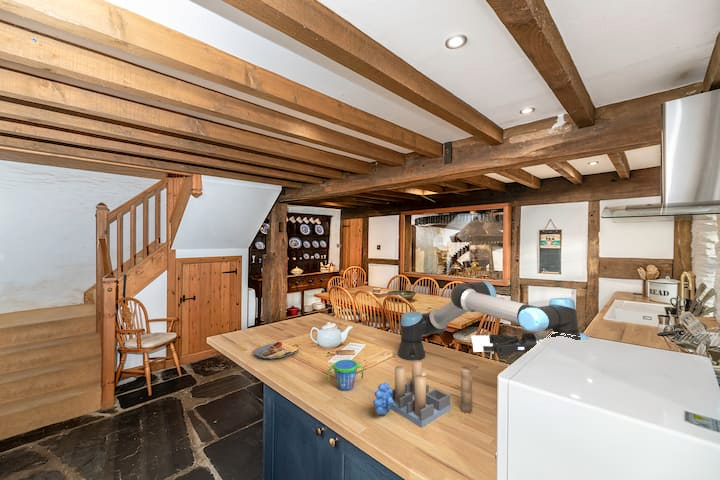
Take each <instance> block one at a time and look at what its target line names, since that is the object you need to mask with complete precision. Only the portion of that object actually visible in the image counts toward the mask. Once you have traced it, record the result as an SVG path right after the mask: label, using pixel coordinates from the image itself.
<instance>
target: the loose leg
mask: <svg viewBox="0 0 720 480" xmlns="http://www.w3.org/2000/svg"><path fill="white" fill-rule="evenodd" d="M460 411H461V413H463V412H464V413H463V414H465V413H471V412H472V413H473V368H471V367H469V366H461V367H460ZM472 413H471V414H472Z"/></svg>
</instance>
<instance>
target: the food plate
mask: <svg viewBox="0 0 720 480" xmlns="http://www.w3.org/2000/svg"><path fill="white" fill-rule="evenodd" d="M282 342H283V341H277V342H273V343H268V344H264V345H262V346H260V347H256V348H255V349H254V350H253V354H254V355H255V356H257V357H259V358H263V359H270V360H271V359H272V360H274V359H278V358H284V357H288V356H291V355H292V354H294V353H296V352H294V353H293V352H291V351H290V350H287V349H284V348H283V347H282ZM292 346H294V347H299V345H298V344H295V345H292Z"/></svg>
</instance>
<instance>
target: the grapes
mask: <svg viewBox="0 0 720 480" xmlns="http://www.w3.org/2000/svg"><path fill="white" fill-rule="evenodd" d="M377 388H378V389H377V390H375V392H374V393H373V394H374V397H375V399H374V400H373V402H372V403H373V406H374V407H375V409H374V411H375V412H376V414H377V415H380V416H382V417H383V416H386V414H387V413H388V412H389V411H390V409H391V407H390V405H392V404H393V403H394V402H393V399H392V397H391V394H392V393H393V392H392V390H393V389H392V388H391V387H390V385H389V383H388V382H384V383H380V384H379V385H378V386H377Z"/></svg>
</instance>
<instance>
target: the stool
mask: <svg viewBox="0 0 720 480" xmlns="http://www.w3.org/2000/svg"><path fill="white" fill-rule="evenodd" d="M422 372H423V361H422V360H411V381H410V382H407V383H406V367H404V366H400V365H398V366H395V367H394V388H393V389H392V392H393V393H392V394H391V397H392V399H393V402H394V403H393V404H392V405H390V407H391V408H390V409H391V411H394V412H396V413H397V414H399V415H401V416H402V417H404V418H405V419H407V420H409V421H410V422H412V423H413V424H415V425H417V426H418V427H420V428H423V427H425V426H426V425H428V424H430V423H431V422H433V421H436V420H437V419H438V418H440V417H442V416H443V415H445V414H446V413H448V412H449V411H451V407H452V405H451V395H450V394H448V393H446V392H444V391H442V390H439V389H437V388H434V389H432V390H430V385H429V384H427V382H426V381H427V377H424V376H422Z"/></svg>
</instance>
